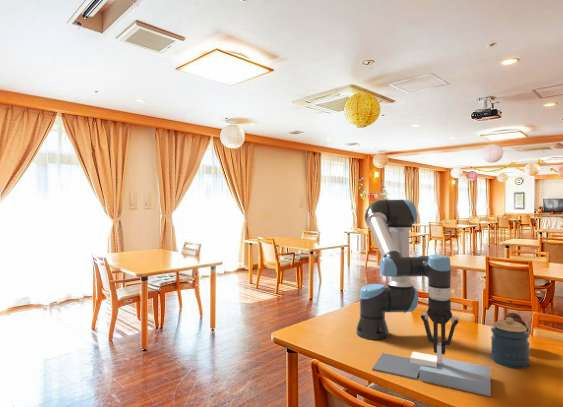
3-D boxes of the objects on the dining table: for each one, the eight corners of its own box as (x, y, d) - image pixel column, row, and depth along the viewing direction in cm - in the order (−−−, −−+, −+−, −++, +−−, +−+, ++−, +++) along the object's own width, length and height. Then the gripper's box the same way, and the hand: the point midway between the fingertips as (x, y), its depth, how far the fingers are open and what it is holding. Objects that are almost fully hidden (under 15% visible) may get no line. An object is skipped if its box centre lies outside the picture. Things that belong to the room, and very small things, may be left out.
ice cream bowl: (492, 343, 162) (492, 310, 162) (516, 342, 163) (516, 309, 163) (509, 353, 151) (509, 318, 151) (534, 352, 152) (534, 317, 152)
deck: (419, 380, 130) (419, 369, 130) (425, 364, 142) (425, 354, 142) (490, 396, 119) (490, 384, 119) (490, 377, 131) (490, 366, 131)
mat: (372, 369, 138) (372, 368, 138) (382, 354, 152) (382, 352, 152) (416, 379, 130) (416, 378, 130) (423, 362, 144) (423, 360, 144)
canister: (490, 364, 142) (490, 319, 142) (491, 352, 153) (491, 310, 153) (530, 372, 135) (530, 325, 135) (528, 359, 146) (528, 315, 146)
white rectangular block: (410, 362, 135) (410, 357, 135) (413, 356, 140) (412, 351, 140) (436, 367, 130) (436, 362, 130) (438, 361, 136) (438, 355, 136)
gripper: (418, 298, 133) (419, 362, 133) (458, 302, 126) (458, 370, 127) (421, 293, 139) (422, 354, 139) (459, 297, 133) (459, 361, 133)
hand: (439, 362), depth 133 cm, fingers closed
